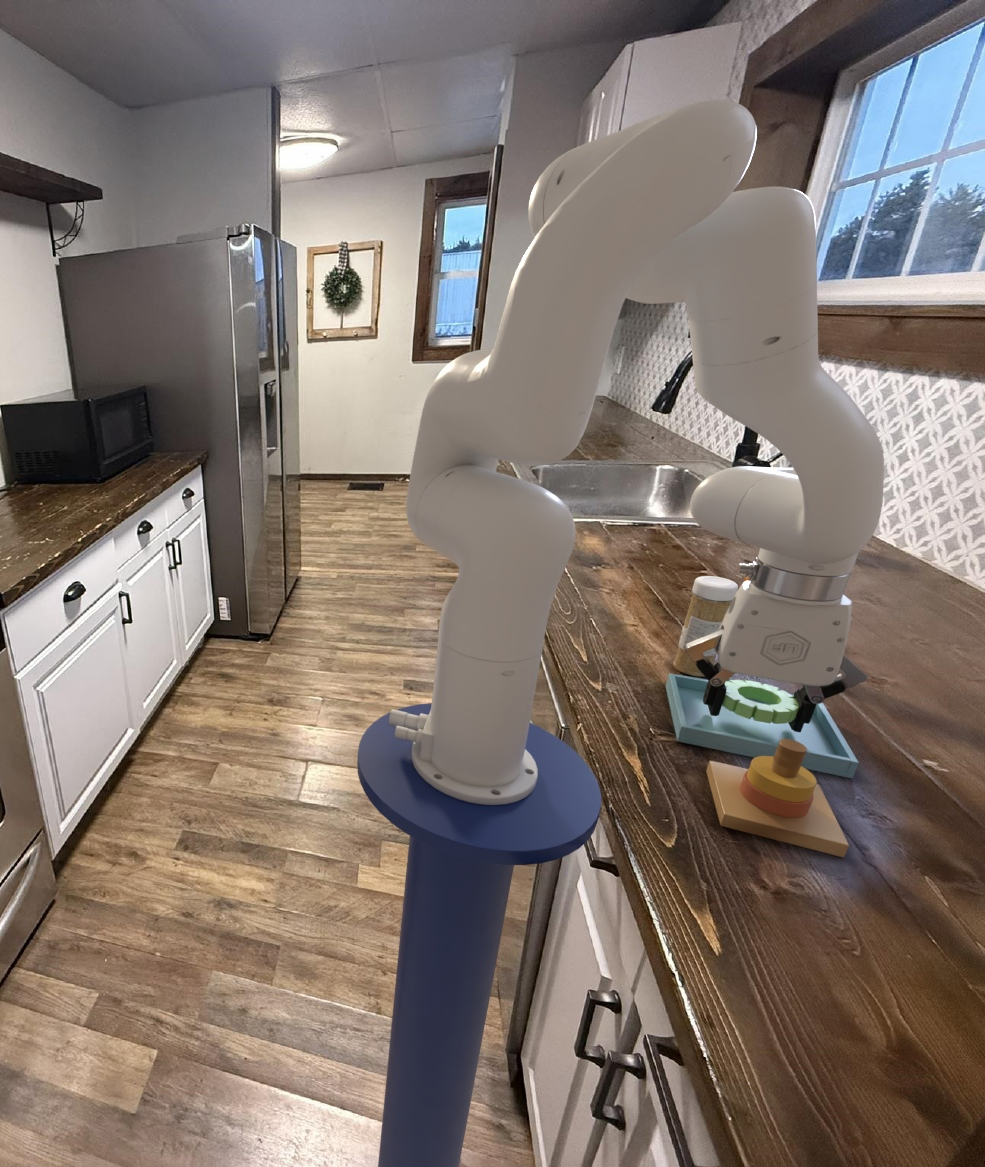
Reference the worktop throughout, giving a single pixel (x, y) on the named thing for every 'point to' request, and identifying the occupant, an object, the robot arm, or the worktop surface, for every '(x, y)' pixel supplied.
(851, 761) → the tray
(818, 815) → the stand
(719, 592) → the sprinkles bottle
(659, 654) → the worktop surface
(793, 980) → the worktop surface
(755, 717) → the ring
